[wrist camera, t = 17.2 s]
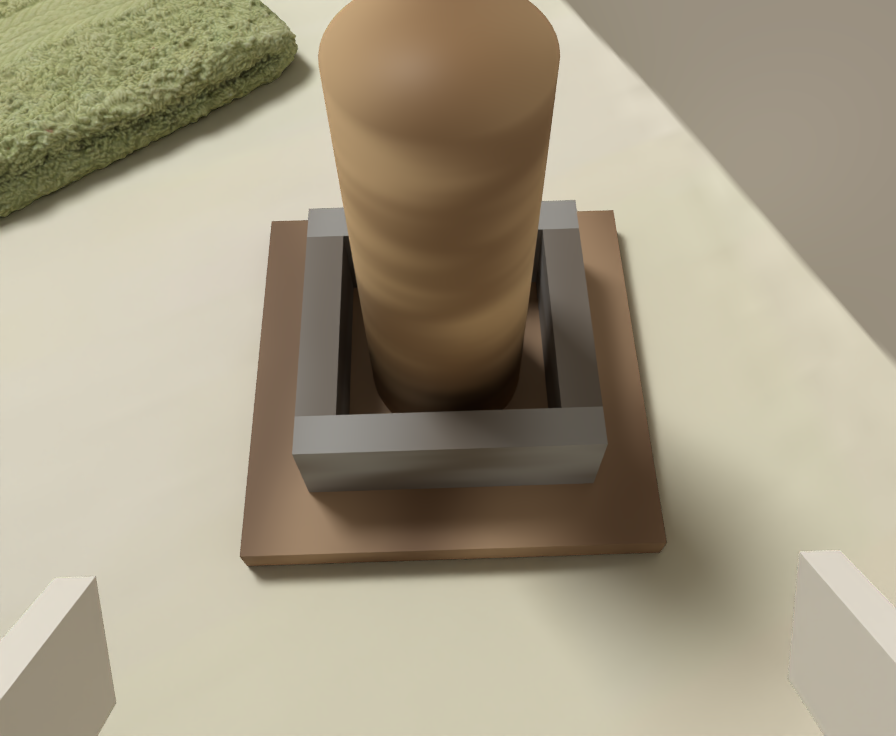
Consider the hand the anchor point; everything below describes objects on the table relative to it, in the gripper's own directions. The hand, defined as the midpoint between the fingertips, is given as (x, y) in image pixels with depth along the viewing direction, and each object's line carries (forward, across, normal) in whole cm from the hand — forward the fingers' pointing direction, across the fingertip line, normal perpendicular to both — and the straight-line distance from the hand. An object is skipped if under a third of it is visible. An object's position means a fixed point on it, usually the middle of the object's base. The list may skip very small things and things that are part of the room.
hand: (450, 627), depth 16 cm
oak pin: (+14, 0, +1) cm, 14 cm away
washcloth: (+27, -16, +12) cm, 33 cm away
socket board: (+14, 0, +1) cm, 15 cm away
